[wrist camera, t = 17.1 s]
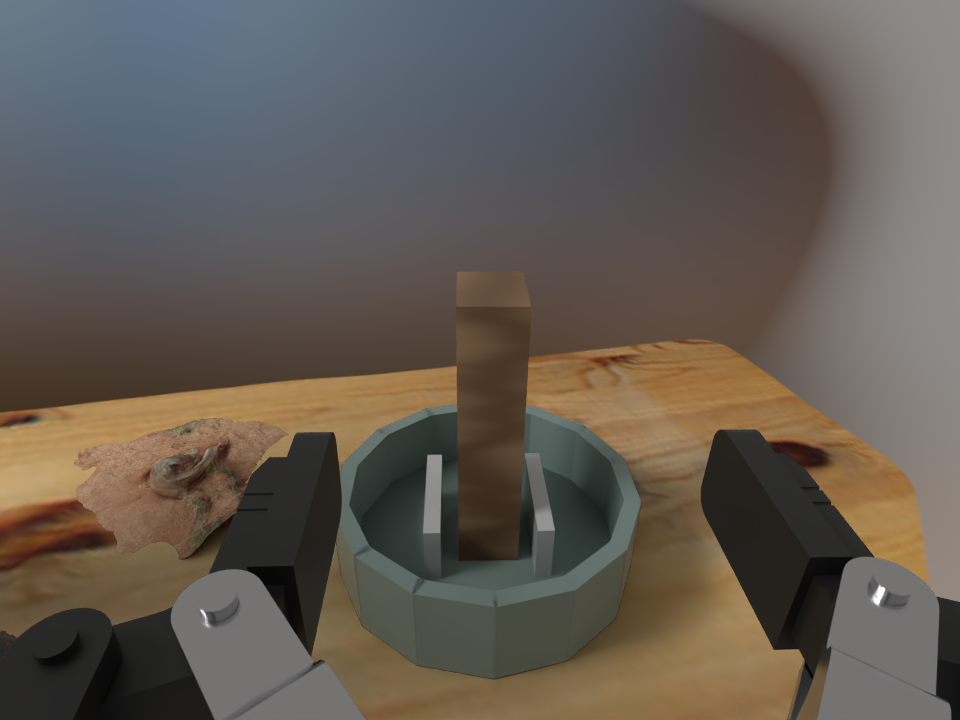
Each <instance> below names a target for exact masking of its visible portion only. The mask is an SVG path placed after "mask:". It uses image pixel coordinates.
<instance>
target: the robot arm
mask: <svg viewBox="0 0 960 720" xmlns="http://www.w3.org/2000/svg"><path fill="white" fill-rule="evenodd" d="M243 494H244V496H243V497H242V498H241V500H240V503H239V505H238V507H237V513H235V514H234V517H233V519H232V521H231V524H230V526H229V528H228V531H227V533H226V535H225V538H224V540H223V542H222V545H221V547H220V549H219V552H218V554H217V556H216V559H215V561H214V563H213V566H212V568H211V570H210V573H209V574H208V575H206V576H204V577H202V578H200V579H199V580H197V581H195V582H194V583H193V584H191V585H190V586H189V587H188V588H186V589H185V590H184V591H183V592H182V594H181V595H180V596H179V597H178V599H177V600H176V602H175V604H174V606H173V607H171V608H169V609H167V610H165V611H162V612H159V613H156V614H153V615H149V616H146V617H142V618H139V619H135V620H131V621H128V622H124V623H121V624H117V625H114V626H112V625H111V622H110V620H109V618H108V617H107V616H106V615H105V614H104V613H102V612H101V611H98V610H95V609H90V608H77V609H70V610H66V611H62V612H60V613H57V614H54V615H52V616H50V617H47V618H45V619H43V620H42V621H40V622H38V623H36V624H35V625H33V626H32V627H31V628H29V629H28V630H26V631H25V632H24V633H23V634H22V635H21V636H20V637H19V638H18V639H17V640H16V641H15V642H14V643H13V644H12V645H11V647H10V648H9V649H8V651H7V652H6V654H5V655H4V657H3V659H2V660H1V662H0V720H365V718H364V717H363V715H362V714H361V712H360V711H359V709H358V708H357V706H356V705H355V703H354V702H353V700H352V699H351V697H350V696H349V694H348V693H347V691H346V690H345V688H344V687H343V685H342V684H341V682H340V681H339V679H338V678H337V676H336V675H335V673H334V672H333V670H332V669H331V668H330V667H329V665H328V664H327V663H326V662H325V661H323V660H319V661H318V662H314V661H313V659H312V658H311V654H312V650H313V645H314V640H315V636H316V631H317V626H318V622H319V617H320V612H321V608H322V603H323V598H324V594H325V589H326V584H327V580H328V575H329V570H330V566H331V561H332V556H333V552H334V547H335V542H336V538H337V533H338V528H339V524H340V518H341V509H342V490H341V481H340V472H339V463H338V454H337V445H336V438H335V434H334V433H333V432H305V433H296V434H295V436H294V439H293V442H292V444H291V447H290V450H289V453H288V455H287V457H269V458H268V459H267V460H266V461H265V462H264V463H263V464H262V465H261V466H260V467H259V468H258V469H257V470H256V471H255V472H254V473H253V474H252V475H251V477H250V480H249V482H248V484H247V487H246V489H245V491H244V493H243ZM701 503H702V508H703V512H704V514H705V517H706V519H707V521H708V523H709V525H710V526H711V528H712V530H713V532H714V534H715V536H716V538H717V540H718V542H719V544H720V546H721V548H722V550H723V552H724V554H725V556H726V558H727V559H728V561H729V563H730V565H731V567H732V569H733V571H734V573H735V575H736V577H737V579H738V581H739V583H740V585H741V587H742V589H743V591H744V592H745V594H746V596H747V598H748V600H749V602H750V604H751V606H752V608H753V610H754V612H755V614H756V616H757V618H758V620H759V622H760V624H761V626H762V627H763V629H764V631H765V633H766V635H767V637H768V639H769V641H770V643H771V645H772V647H773V649H774V650H784V649H799V650H800V652H801V654H802V656H803V658H804V661H803V664H802V666H801V668H800V671H799V675H798V679H797V682H796V686H795V690H794V694H793V698H792V702H791V706H790V710H789V714H788V718H787V720H960V602H957V601H953V600H949V599H944V598H940V597H936V596H935V594H934V592H933V591H932V590H931V589H930V587H929V586H928V585H927V584H926V583H925V582H924V581H923V580H922V579H920V578H919V577H918V576H917V575H915V574H914V573H912V572H911V571H909V570H908V569H906V568H904V567H902V566H900V565H898V564H896V563H893V562H890V561H887V560H884V559H880V558H875V557H874V556H873V554H872V553H871V552H870V551H869V549H868V548H867V547H866V546H865V544H864V543H863V542H862V541H861V539H860V538H859V537H858V535H857V534H856V533H855V532H854V530H853V529H852V528H851V527H850V525H849V524H848V523H847V522H846V520H845V519H844V518H843V516H842V515H841V514H840V513H839V511H838V510H837V509H836V508H835V506H831V501H830V500H829V499H828V497H827V496H826V495H825V494H824V492H823V491H822V490H819V486H818V485H817V484H816V482H815V481H814V480H813V478H812V477H811V476H810V475H809V473H808V472H807V471H806V470H805V468H803V467H802V466H800V465H799V464H797V463H796V462H795V461H793V460H792V459H790V458H789V457H788V456H786V455H785V454H783V453H775V452H774V451H773V449H772V448H771V447H770V445H769V444H768V443H767V441H766V440H765V439H764V437H763V436H762V435H761V433H760V432H759V431H757V430H719V431H717V432H716V434H715V436H714V439H713V443H712V447H711V450H710V454H709V458H708V462H707V466H706V470H705V474H704V478H703V482H702V487H701Z"/></svg>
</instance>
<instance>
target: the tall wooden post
mask: <svg viewBox="0 0 960 720" xmlns="http://www.w3.org/2000/svg"><path fill="white" fill-rule="evenodd" d="M530 320H531V304H530V300H529V295H528V291H527V287H526V283H525V278H524V274H523V272H457V300H456V325H457V326H456V329H457V434H458V539H459V561H498V560H518V546H519V527H520V509H521V490H522V471H523V452H524V433H525V415H526V396H527V377H528V358H529V339H530V338H529V337H530Z"/></svg>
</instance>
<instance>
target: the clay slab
mask: <svg viewBox="0 0 960 720" xmlns="http://www.w3.org/2000/svg"><path fill="white" fill-rule="evenodd" d="M286 435H289V434H287V433H285V432H284V431H282V430H279V429H277V427H274V426H272V425H268V424H266V423H262V422H259V421H258V422H246V423H243V422H233V421H230V420H224V419H221V418H219V419H218V418H211V419H200V420H195V421H191V422H189V423H186V424H184V425H182V426H179V427H176V428H172V429H168V430H162V431H157V432H153V433H150V434H147V435H144V436H142V437H140V438H138V439H136V440H134V441H131V442H129V443H126V444H120V445H112V444H109V445H103V446H99V447H93V448H87V449H84V450H80V451H79V454H78V458H79V459H78V460H75V462H74V464H75V465H76V466H78V467H81V468H82V470H87V469H89V468H91V467H92V466H94V467H96V466H97V469H96V470H95V472H94V473H93V474H92V475H91V476H90V478H89V479H88V480H86V481H85V482H84V483H83V484H82V485H80V486H79V487H77V488H76V493H77V497H78V498H79V500H78V501H79V502H81V503H83V506H84V508H86V509H89V510H91V511H93V512H94V513H95V514H97V518H96V519H97V520H98V522H99V524H101V525H102V527H103V528H105V529H106V530H108V531H111V532H113V531H114V533H113V534H114V536H115V537H116V540H117V546H116V548H115V553H117V554H124V553H127V552H131V553H134V552H135V551H137V550H139V549H140V548H142V547H144V546H146V545H147V544H149V543H152V542H167V543H169V544H171V545H173V546H175V547H176V550H177V552H178V554H179V559H183V558H186V557H188V556H189V555H191V554H192V553H193V552H194V551H195V550H196V549H197V548H198V547H199V546H200V545H201V544H202V543H203V541H204V539H205V538H206V537H207V536H208V535H209V534H211V533H212V531H213V530H215V529H216V528H217V527H219V526H221V525H222V523H223V522H224V521H227V519H228V518H229V517H230V516H232V515H234V514H235V513H237V507H238V505H239V503H240V500H241V498H242V497H243V496H244V494H243V493H244V491H245V489H246V487H247V484H245V483H244V482H245V481H247V479H248V478H249V476H250V474H251V472H252V471H253V470H254V469H255V467H256V465H257V464H256V463H257V461H259V460H261V458H262V456H263V455H264V453H265V450H267V449H268V448H269V447H271V446H272V445H273V444H275V443H276V442H277V441H278V440H279V439H280V438H282V437H284V436H286Z"/></svg>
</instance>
